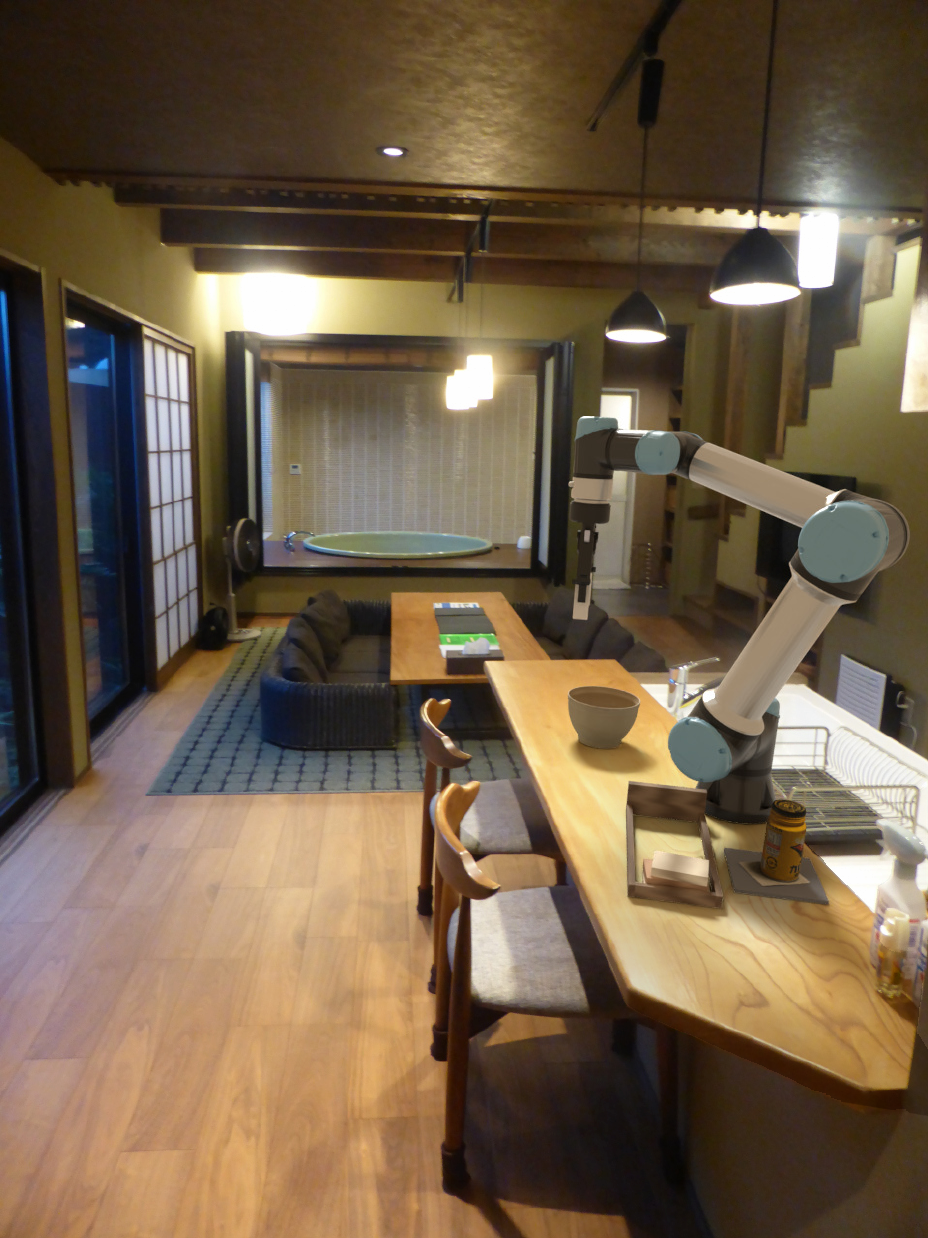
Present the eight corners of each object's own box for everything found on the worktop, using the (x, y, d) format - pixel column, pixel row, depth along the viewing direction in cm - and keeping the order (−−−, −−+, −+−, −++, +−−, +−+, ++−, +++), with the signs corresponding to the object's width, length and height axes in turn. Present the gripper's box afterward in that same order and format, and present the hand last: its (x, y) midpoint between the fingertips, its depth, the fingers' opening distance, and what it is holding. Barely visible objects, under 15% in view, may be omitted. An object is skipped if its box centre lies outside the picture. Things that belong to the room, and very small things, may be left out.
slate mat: (809, 861, 148) (809, 858, 148) (828, 904, 135) (828, 901, 135) (723, 850, 150) (724, 847, 150) (734, 892, 137) (734, 889, 137)
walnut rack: (702, 820, 162) (706, 789, 160) (721, 908, 132) (726, 872, 131) (625, 810, 164) (628, 780, 163) (627, 896, 134) (631, 860, 133)
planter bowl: (604, 761, 188) (608, 712, 185) (549, 738, 200) (553, 692, 197) (650, 745, 198) (655, 699, 196) (595, 725, 210) (599, 681, 208)
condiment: (810, 883, 140) (821, 813, 137) (762, 887, 138) (772, 816, 135) (784, 861, 146) (794, 794, 144) (738, 864, 145) (747, 796, 142)
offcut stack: (705, 883, 140) (709, 856, 139) (709, 905, 133) (713, 878, 132) (641, 874, 142) (644, 848, 141) (641, 896, 135) (644, 869, 134)
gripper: (573, 494, 177) (565, 597, 182) (566, 505, 153) (557, 623, 158) (611, 497, 176) (602, 600, 180) (610, 508, 152) (599, 627, 156)
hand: (581, 611), depth 169 cm, fingers open, 13 cm apart
